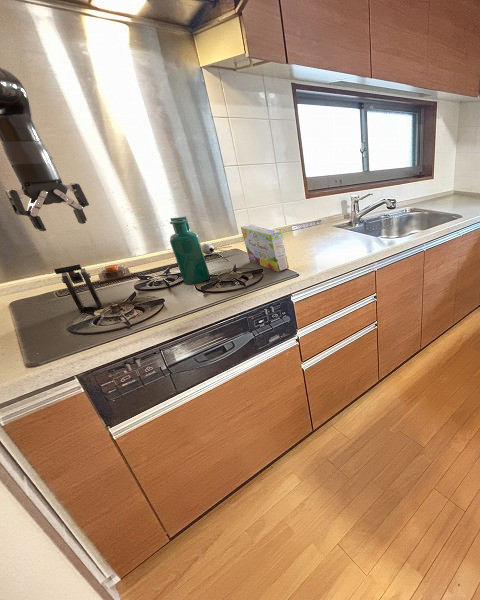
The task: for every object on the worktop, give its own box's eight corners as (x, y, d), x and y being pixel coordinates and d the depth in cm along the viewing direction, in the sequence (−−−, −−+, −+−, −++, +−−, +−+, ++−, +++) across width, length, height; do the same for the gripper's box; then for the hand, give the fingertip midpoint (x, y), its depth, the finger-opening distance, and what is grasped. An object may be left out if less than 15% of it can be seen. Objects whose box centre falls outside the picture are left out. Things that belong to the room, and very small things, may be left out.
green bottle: (211, 280, 118) (193, 220, 109) (184, 285, 114) (163, 223, 105) (209, 272, 126) (191, 215, 116) (184, 277, 122) (163, 218, 112)
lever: (82, 270, 86) (78, 261, 86) (56, 275, 83) (52, 266, 83) (90, 280, 96) (87, 273, 96) (67, 285, 93) (64, 277, 93)
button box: (133, 280, 120) (129, 270, 119) (102, 287, 115) (97, 276, 113) (129, 272, 128) (125, 263, 126) (100, 279, 122) (95, 269, 120)
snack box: (248, 262, 136) (239, 226, 129) (260, 258, 140) (252, 223, 133) (277, 272, 124) (269, 233, 117) (290, 268, 128) (283, 230, 121)
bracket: (113, 312, 97) (95, 272, 92) (73, 322, 92) (51, 281, 86) (110, 301, 104) (93, 264, 98) (73, 311, 99) (52, 272, 93)
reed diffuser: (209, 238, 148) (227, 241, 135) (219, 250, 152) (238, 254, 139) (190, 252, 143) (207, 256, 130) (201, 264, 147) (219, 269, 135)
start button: (119, 270, 120) (117, 266, 119) (107, 273, 117) (105, 268, 117) (118, 268, 122) (116, 263, 121) (106, 270, 120) (104, 266, 119)
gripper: (60, 160, 87) (87, 220, 94) (-17, 163, 75) (20, 232, 83) (75, 160, 84) (102, 222, 92) (-3, 163, 73) (35, 234, 80)
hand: (63, 226), depth 87 cm, fingers open, 8 cm apart
